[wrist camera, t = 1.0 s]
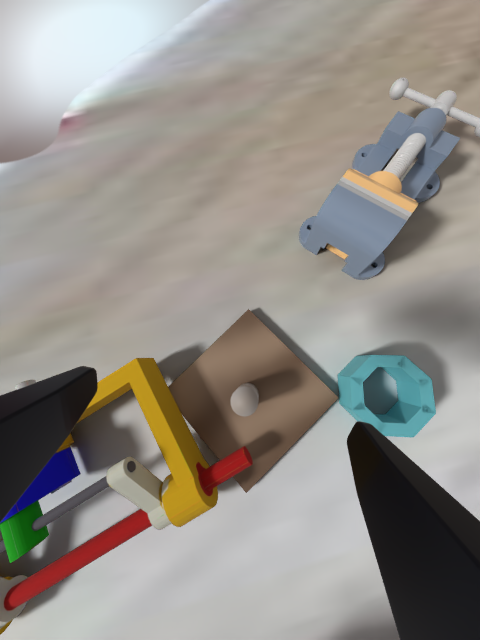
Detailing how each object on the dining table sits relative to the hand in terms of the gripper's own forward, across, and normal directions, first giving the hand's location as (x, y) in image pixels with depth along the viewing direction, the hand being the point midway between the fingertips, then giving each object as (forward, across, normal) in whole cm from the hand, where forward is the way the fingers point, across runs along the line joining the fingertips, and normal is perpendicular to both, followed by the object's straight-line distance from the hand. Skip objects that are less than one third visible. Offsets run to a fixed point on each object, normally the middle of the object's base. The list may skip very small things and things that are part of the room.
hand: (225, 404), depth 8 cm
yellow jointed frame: (+9, +12, +18) cm, 24 cm away
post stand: (+12, -2, +10) cm, 16 cm away
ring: (+12, -14, +6) cm, 20 cm away
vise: (+24, -12, -10) cm, 29 cm away
